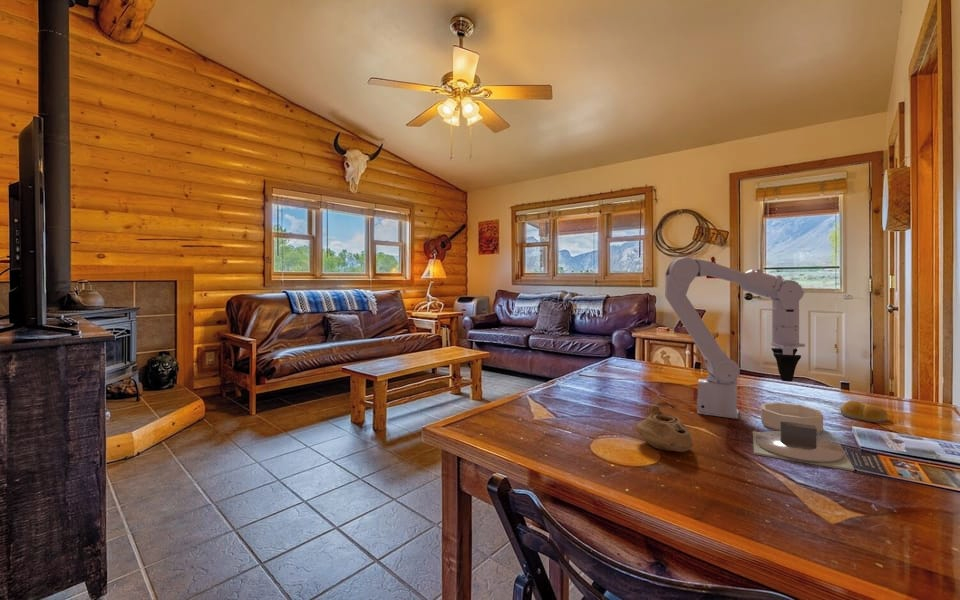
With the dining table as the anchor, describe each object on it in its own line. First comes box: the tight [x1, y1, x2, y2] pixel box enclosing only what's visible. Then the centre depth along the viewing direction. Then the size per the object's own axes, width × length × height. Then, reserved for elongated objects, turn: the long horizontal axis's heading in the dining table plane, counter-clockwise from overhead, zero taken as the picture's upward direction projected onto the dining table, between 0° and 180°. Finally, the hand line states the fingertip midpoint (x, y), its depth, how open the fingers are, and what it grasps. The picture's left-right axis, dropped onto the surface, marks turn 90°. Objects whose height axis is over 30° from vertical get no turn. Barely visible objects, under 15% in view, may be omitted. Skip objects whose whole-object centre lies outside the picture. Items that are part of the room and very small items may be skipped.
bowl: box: [760, 401, 824, 435], centre depth 105 cm, size 12×12×4 cm
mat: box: [752, 430, 855, 472], centre depth 91 cm, size 16×14×1 cm
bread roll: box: [840, 400, 889, 423], centre depth 111 cm, size 8×9×4 cm
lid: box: [756, 421, 845, 463], centre depth 91 cm, size 15×15×5 cm
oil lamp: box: [635, 403, 694, 453], centre depth 93 cm, size 11×15×8 cm
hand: (785, 377), depth 111 cm, fingers open, 7 cm apart
